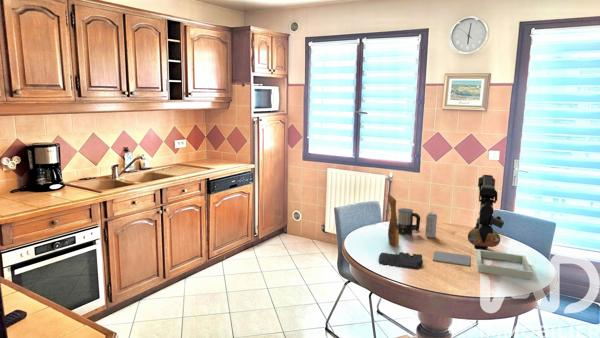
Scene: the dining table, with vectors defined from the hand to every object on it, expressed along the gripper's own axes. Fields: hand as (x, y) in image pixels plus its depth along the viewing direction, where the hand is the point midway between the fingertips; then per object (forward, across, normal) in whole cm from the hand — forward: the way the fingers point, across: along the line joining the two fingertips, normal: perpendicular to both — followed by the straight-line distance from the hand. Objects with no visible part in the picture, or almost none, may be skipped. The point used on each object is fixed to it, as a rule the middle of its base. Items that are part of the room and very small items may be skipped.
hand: (483, 241), depth 208 cm
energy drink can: (+12, +34, +26) cm, 45 cm away
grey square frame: (+12, -1, -10) cm, 15 cm away
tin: (+2, 0, 0) cm, 2 cm away
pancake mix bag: (+12, +15, +47) cm, 51 cm away
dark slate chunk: (+12, -13, +39) cm, 43 cm away
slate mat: (+12, +1, +14) cm, 19 cm away
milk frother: (+12, +40, +40) cm, 58 cm away
